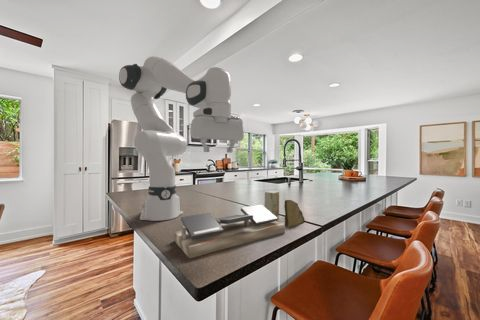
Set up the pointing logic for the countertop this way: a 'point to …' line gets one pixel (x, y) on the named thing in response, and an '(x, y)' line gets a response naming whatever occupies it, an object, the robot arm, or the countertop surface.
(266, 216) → the rocker
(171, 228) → the countertop surface
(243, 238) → the switch panel
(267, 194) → the skincare box
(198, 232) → the panel
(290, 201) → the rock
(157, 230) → the countertop surface
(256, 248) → the countertop surface
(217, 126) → the robot arm
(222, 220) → the panel
